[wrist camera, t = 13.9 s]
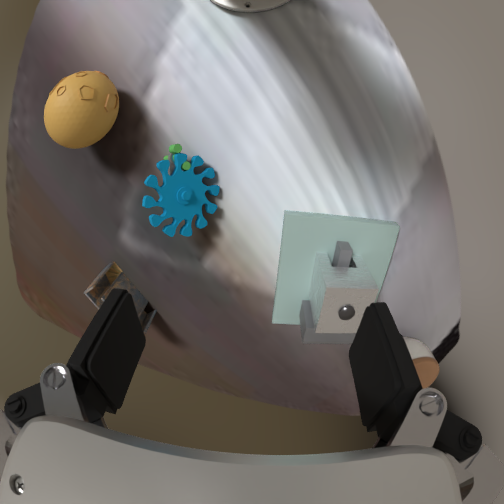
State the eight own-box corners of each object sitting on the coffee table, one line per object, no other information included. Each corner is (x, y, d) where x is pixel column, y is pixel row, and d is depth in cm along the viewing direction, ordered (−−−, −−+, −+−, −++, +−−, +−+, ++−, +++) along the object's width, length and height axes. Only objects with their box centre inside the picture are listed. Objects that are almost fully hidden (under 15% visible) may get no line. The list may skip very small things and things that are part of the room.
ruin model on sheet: (159, 308, 45) (140, 348, 37) (148, 313, 46) (128, 353, 38) (116, 258, 41) (87, 293, 33) (106, 266, 42) (77, 300, 33)
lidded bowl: (369, 335, 45) (384, 382, 36) (428, 319, 43) (451, 361, 34) (365, 374, 51) (376, 416, 41) (417, 359, 49) (433, 398, 39)
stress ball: (109, 147, 33) (134, 131, 26) (45, 161, 27) (48, 147, 20) (105, 84, 30) (129, 54, 23) (42, 93, 24) (48, 60, 17)
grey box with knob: (316, 252, 36) (327, 288, 29) (360, 255, 36) (379, 290, 29) (308, 294, 40) (315, 334, 32) (349, 295, 40) (363, 334, 32)
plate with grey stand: (284, 210, 35) (288, 234, 29) (395, 222, 35) (418, 246, 28) (272, 316, 44) (272, 351, 37) (364, 320, 44) (375, 352, 37)
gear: (224, 229, 35) (151, 248, 29) (200, 221, 40) (135, 237, 33) (220, 142, 32) (142, 146, 25) (196, 144, 36) (126, 150, 30)
